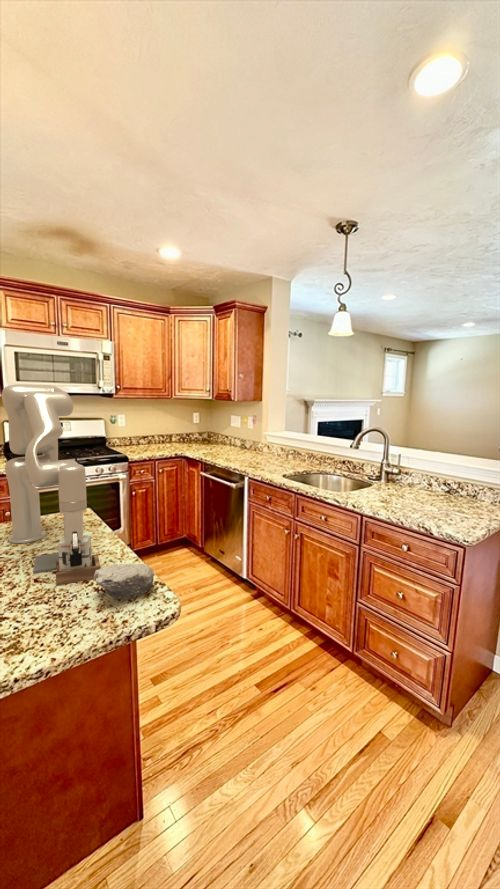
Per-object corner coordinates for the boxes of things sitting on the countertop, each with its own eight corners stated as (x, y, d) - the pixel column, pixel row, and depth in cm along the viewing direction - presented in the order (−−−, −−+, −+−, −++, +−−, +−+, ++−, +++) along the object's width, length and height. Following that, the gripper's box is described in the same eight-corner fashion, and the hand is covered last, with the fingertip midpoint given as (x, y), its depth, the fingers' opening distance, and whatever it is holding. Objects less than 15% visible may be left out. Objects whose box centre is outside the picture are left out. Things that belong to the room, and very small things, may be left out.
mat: (35, 558, 124) (35, 556, 124) (74, 552, 130) (74, 550, 130) (33, 574, 114) (33, 571, 114) (75, 566, 119) (75, 564, 119)
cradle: (56, 571, 116) (56, 560, 115) (98, 563, 121) (97, 554, 121) (56, 586, 107) (55, 574, 107) (100, 577, 112) (100, 566, 112)
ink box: (59, 579, 110) (57, 542, 109) (63, 572, 115) (61, 536, 114) (89, 577, 112) (88, 540, 111) (92, 569, 117) (91, 534, 116)
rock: (157, 599, 105) (162, 569, 103) (97, 616, 95) (101, 583, 92) (143, 576, 113) (147, 548, 111) (86, 590, 103) (90, 559, 100)
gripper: (59, 499, 117) (62, 552, 119) (59, 515, 102) (62, 576, 104) (85, 496, 120) (87, 548, 123) (88, 511, 105) (90, 571, 107)
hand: (75, 560), depth 113 cm, fingers closed on ink box, 5 cm apart
